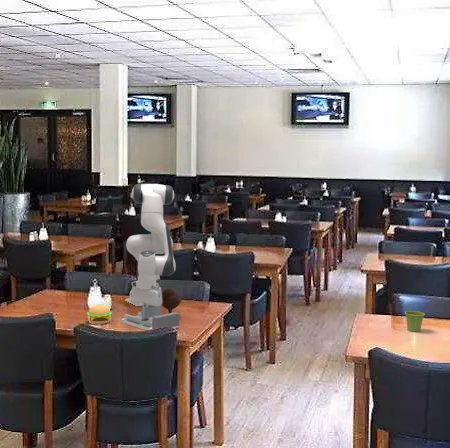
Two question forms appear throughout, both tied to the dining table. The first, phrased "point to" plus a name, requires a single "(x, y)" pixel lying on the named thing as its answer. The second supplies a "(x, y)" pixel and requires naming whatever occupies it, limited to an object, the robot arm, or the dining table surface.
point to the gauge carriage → (150, 312)
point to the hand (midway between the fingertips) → (146, 312)
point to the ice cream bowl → (170, 300)
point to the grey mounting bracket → (157, 321)
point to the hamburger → (99, 314)
